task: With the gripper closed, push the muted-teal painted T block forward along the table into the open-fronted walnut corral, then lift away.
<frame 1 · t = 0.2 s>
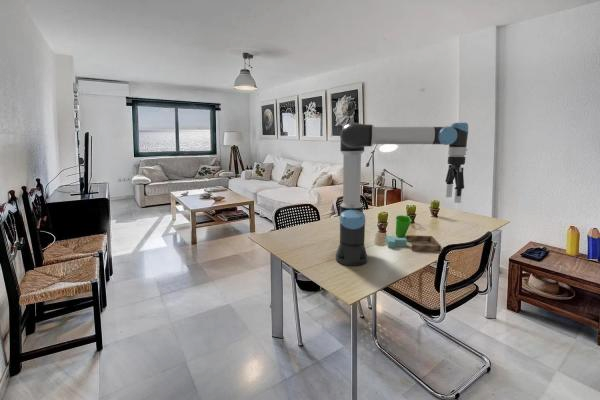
hand: (452, 199, 159), 28 cm above the table, fingers open, 13 cm apart
corral: (420, 245, 176), on the table
cup: (400, 235, 192), on the table
tee: (396, 244, 178), on the table
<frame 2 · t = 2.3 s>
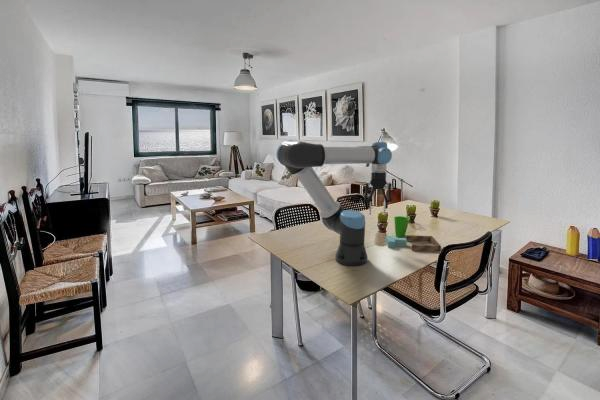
hand: (377, 214, 175), 17 cm above the table, fingers open, 7 cm apart
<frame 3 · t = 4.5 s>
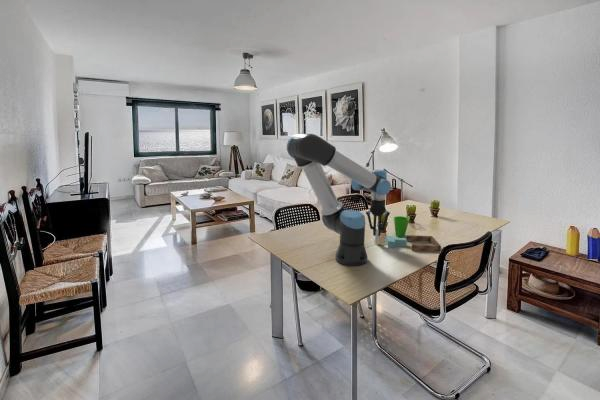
hand: (376, 241, 178), 2 cm above the table, fingers closed
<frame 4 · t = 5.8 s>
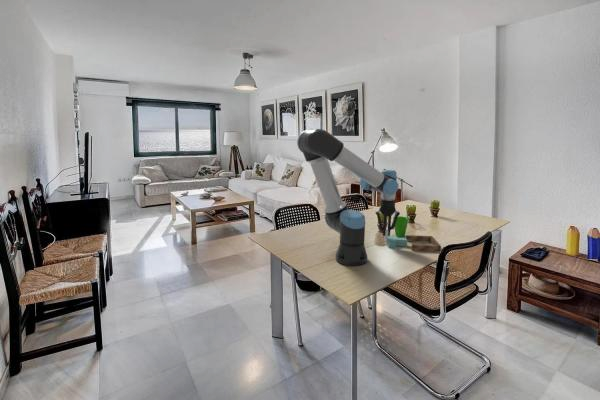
hand: (386, 241, 178), 2 cm above the table, fingers closed
tee: (396, 244, 178), on the table, touching gripper
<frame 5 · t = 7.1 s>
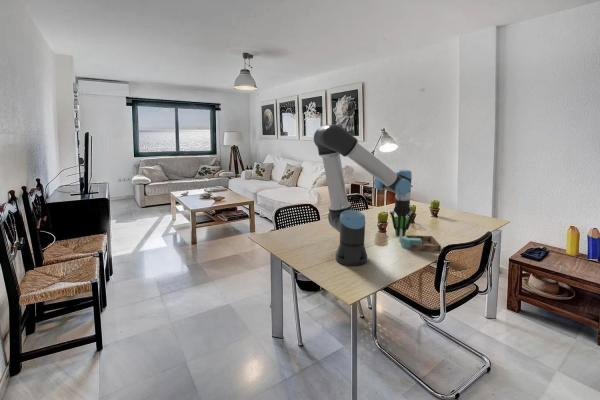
hand: (400, 241, 177), 2 cm above the table, fingers closed
tee: (410, 245, 177), on the table, touching gripper
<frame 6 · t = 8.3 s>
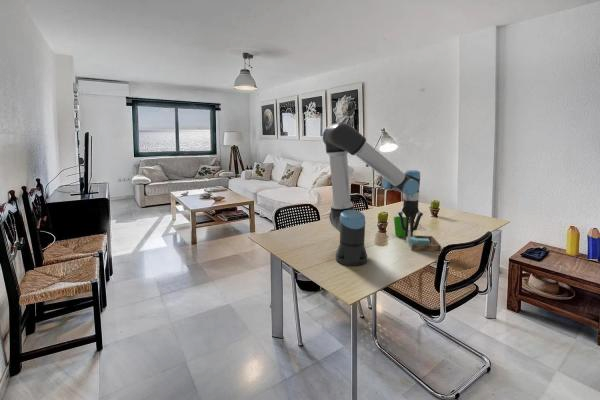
hand: (408, 242, 176), 2 cm above the table, fingers closed
tee: (419, 245, 176), on the table, touching gripper
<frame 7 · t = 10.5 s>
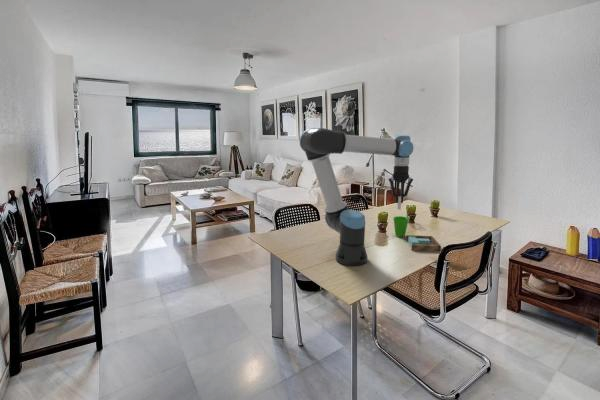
hand: (398, 208, 176), 20 cm above the table, fingers closed
tee: (419, 245, 176), on the table
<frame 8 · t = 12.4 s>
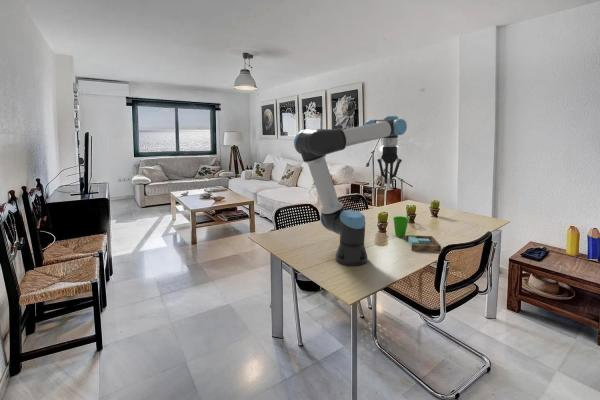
hand: (387, 189, 178), 29 cm above the table, fingers closed
at the end: tee 0.1 cm off-centre on the corral, point 0.0 cm above the corral's base; tee tilted 0°; tee moved 12.2 cm from its start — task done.
